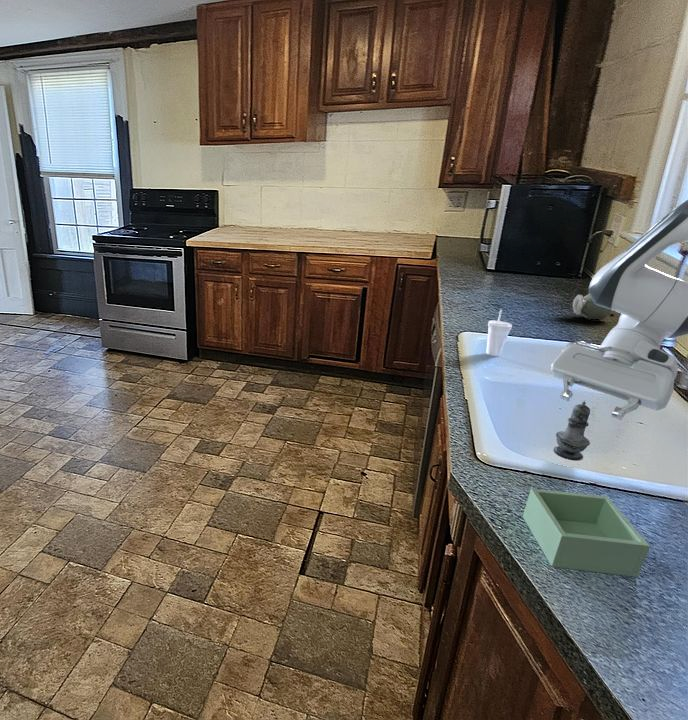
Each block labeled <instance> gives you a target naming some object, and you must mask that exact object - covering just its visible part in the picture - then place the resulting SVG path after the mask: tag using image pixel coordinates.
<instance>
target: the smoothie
mask: <svg viewBox="0 0 688 720" xmlns="http://www.w3.org/2000/svg"><path fill="white" fill-rule="evenodd" d="M502 313H503V309H502V308H500V309H499V314H498V318H497V320H495V319H493V320H488V321H487V322H488V323H487V326H488V329H487V341H486V351H485V352H486V354H487V355H488V356H492V357H500V356H501V354H502V352H503V348H504V346H505V343H506V342H507V338H508V336H509V333H510V332H511V330H512V329H513V324H512V323H511V322H507V321H503V320H501V317H502Z"/></svg>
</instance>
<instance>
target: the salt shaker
mask: <svg viewBox="0 0 688 720" xmlns="http://www.w3.org/2000/svg"><path fill="white" fill-rule="evenodd" d="M586 404H587V403H586V401H585V400H584V401H582V402H581V403H579V404H576V405H574V406H573V408H572V412H571V415H570V417H568V418H567V422H568V423H567V426H566V428H565V430H561V431H557V432H556V433H555V437H556V444H557V445H558V446H554V447H553V448H552V452H553V453H554V454H555V455H556V456H558V457H560V458H562V459H564V460H569V461H576V462H579V461H580V462H581V461H582V460H583V459H584V455H583V453H582V452H584V451H585V450H586V449H587V448H588V446H590V445H591V442H590V440H589V438H587V437H586V436H585V432H586V431H585V430H586V428H587V427H589V422H588V420H589V417H590V414H591V409H590V407H589V406H587V405H586Z"/></svg>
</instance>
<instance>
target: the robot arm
mask: <svg viewBox="0 0 688 720" xmlns="http://www.w3.org/2000/svg"><path fill="white" fill-rule="evenodd" d="M687 242H688V199H686V200H684V201H682V202H681V203H680V204H678V205H677V206H676V207H674V208H673V209H671V211H669V212H668V213H667V214H666V215H664V216H663V217H662V218H661V219H660V220H658V221H657V222H656V223H655V224H654V225H653V226H651V227H650V228H649V229H648V230H647V231H645V232H644V233H643V234H642V235H640V237H639V238H637V240H635V241H634V242H633V243H631V245H629V246H628V247H626V249H625V250H623V251H622V252H621V253H620V254H618V255H617V256H615V257H614V258H612V259H611V260H610V261H608V262H607V263H605V264H604V265H603V266H602V267H600V268H599V270H597V272H596V273H595V274H594V275H593V276H592V278H591V281H590V282H589V286H588V287H587V289H588V294H590V296H591V298H592V300H593V302H594V304H595V305H598V306H601V307H604V308H607V309H610V310H613V312H616V313H618V314H620V316H619V318H618V322H617V324H616V325H615V326H614V327H613V328H612V329H610V331H609V332H608V333H607V335H606V336H605V338H604V339H603V341H602V343H600V345H597V344H593V343H588V342H585V341H583V340H576V341H570V342H567V343H566V344H565V346H563V348H562V350H561V352H560V353H559V354H558V356H556V358H555V359H554V361H553V362H552V363H551V365H550V370H551V372H552V375H553V377H554V378H557V379H560V380H562V383H563V390H562V391H561V393H560V396H559V397H560V399H561V400H564V401H566V402H570V401H571V399H572V398H573V396H574V393H573V391H572V390H570V387H573V386H574V385H578V386H581V387H585V388H588V389H591V390H592V391H596V392H599V393H603V394H605V395H609V396H611V397H614V398H617V399H620V400H623V401H626V402H628V403H627V404H625V405H624V406H622V407H619V406H615V408H613V409H614V410H612V412H611V418H614V419H617V420H620V421H621V420H623V418H624V416H625V415H626V414H629V413H631V412H633V411H636V410H637V409H638V408H639V406H641V407H643V408H647V409H651V410H653V411H661V410H663V409H665V408H666V407H667V405H668V403H669V401H670V400H671V397H672V395H673V392H674V391H675V390H674V389H675V388H674V387H675V379H676V378H677V376H678V372H679V365H678V362H677V358H676V357H675V356H673V355H671V354H670V353H667V352H666V351H663V350H662V349H660V348H661V344H662V342H663V341H664V340H665V339H666V338H667V339H673V338H678V337H682V336H685V335H688V281H685V280H682V279H680V278H677V277H674V276H671V275H670V274H666V273H664V272H661V271H660V270H657V269H654V268H652V267H650V266H648V265H647V264H649V263H650V262H651V261H653V260H654V259H655V258H657V257H658V256H659V255H660V254H662V253H663V252H664V251H665V250H667V249H668V248H669V247H671V246H674V245H676V244H680V243H687Z"/></svg>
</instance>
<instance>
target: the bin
mask: <svg viewBox="0 0 688 720" xmlns="http://www.w3.org/2000/svg"><path fill="white" fill-rule="evenodd" d="M527 497H528V498H527V500H526V503H525V508H524V511H523V514H522V518H523V520H524V521H525V523H526V525H527V527H528V528H529V530H530V532H531V533H532V535H533V537H534V539H535V541H536V542H537V544H538V545H539V548H540V549H541V551H542V552H543V554H544V556H545V557H546V559H547V561H548V563H549V564H550V566H551V567H552V568H559V569H569V570H575V571H576V570H577V571H583V572H593V573H601V574H608V575H618V576H626V577H633V578H638V577H639V574H640V572H641V570H642V567H643V565H644V562H645V560H646V557H647V555H648V552H649V551H650V549H651V545H650V544H649V543H648V541H647V540H646V539H645V538H644V537H643V536H642V535H641V533H640V532H639V531H638V530H637V528H636V527H635V526H634V525H633V524H632V522H630V520H629V519H628V518H627V517H626V516H625V515H624V514H623V512H622V511H621V510H620V509H619V508H618V507H617V505H616V504H615V503H614V502H613V501H612V500H611V498H610V497H609V496H606V495H598V494H597V495H596V494H587V493H578V492H567V491H557V490H548V489H537V488H530V491H529V494H528V496H527Z"/></svg>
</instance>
